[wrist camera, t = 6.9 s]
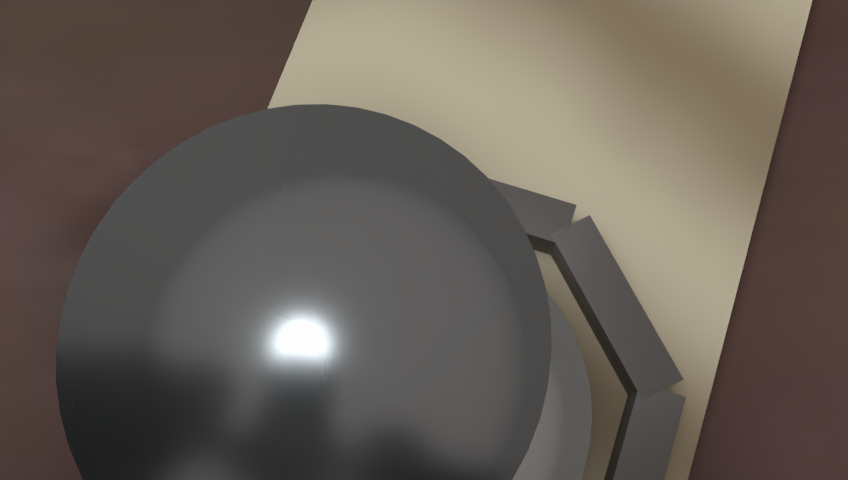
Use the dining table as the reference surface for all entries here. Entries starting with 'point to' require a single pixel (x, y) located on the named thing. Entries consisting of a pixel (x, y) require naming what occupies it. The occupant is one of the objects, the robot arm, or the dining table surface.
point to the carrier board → (594, 167)
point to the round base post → (317, 316)
